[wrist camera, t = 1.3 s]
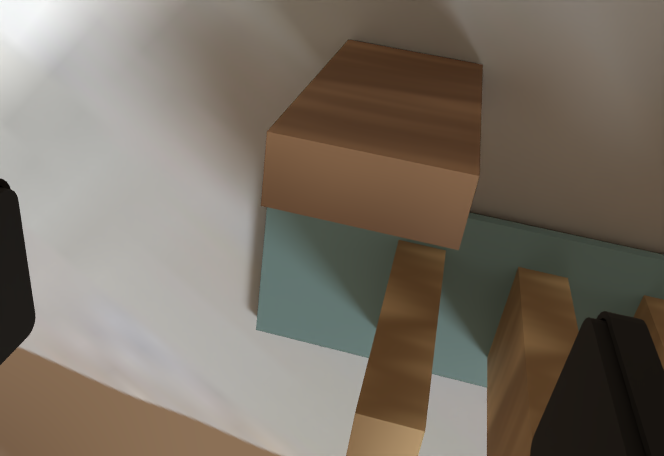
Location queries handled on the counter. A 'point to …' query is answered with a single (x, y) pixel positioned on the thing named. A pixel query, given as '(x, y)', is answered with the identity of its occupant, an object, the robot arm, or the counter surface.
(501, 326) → the domino
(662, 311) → the domino
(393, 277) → the domino
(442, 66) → the domino
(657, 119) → the counter surface
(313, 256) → the board
